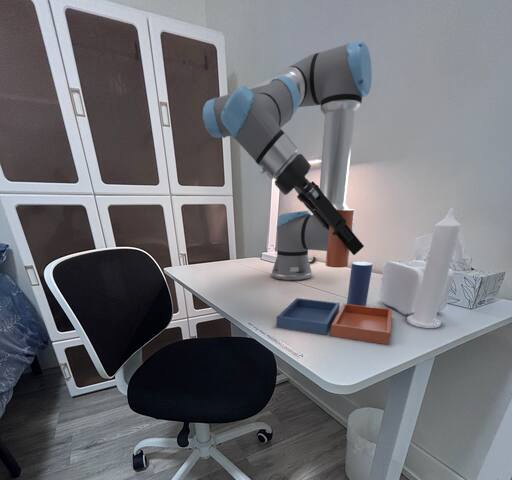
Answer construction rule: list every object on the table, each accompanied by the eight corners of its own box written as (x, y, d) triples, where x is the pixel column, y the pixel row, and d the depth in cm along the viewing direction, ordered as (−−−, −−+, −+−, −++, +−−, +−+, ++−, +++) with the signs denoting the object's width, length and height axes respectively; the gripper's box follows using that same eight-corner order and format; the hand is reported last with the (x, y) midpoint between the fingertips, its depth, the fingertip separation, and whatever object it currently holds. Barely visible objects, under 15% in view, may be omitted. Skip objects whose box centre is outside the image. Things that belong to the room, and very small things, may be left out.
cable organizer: (375, 300, 85) (382, 259, 80) (408, 297, 87) (416, 258, 82) (408, 318, 72) (419, 271, 67) (446, 315, 73) (459, 268, 68)
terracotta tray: (342, 312, 76) (343, 303, 75) (390, 318, 72) (392, 308, 70) (330, 335, 63) (331, 324, 62) (388, 344, 59) (390, 333, 58)
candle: (419, 315, 73) (445, 206, 62) (446, 324, 68) (481, 206, 57) (400, 320, 70) (424, 207, 60) (427, 330, 65) (460, 207, 54)
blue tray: (296, 307, 81) (296, 298, 79) (338, 312, 76) (339, 303, 75) (276, 327, 68) (276, 316, 67) (326, 335, 63) (327, 324, 62)
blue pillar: (347, 304, 82) (353, 261, 77) (366, 306, 80) (373, 262, 75) (345, 309, 78) (350, 264, 73) (364, 312, 76) (371, 265, 71)
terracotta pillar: (328, 262, 72) (333, 209, 66) (349, 264, 70) (355, 209, 64) (323, 266, 67) (328, 210, 62) (345, 268, 66) (352, 210, 60)
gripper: (270, 184, 69) (332, 254, 76) (275, 178, 53) (353, 268, 60) (293, 157, 67) (355, 232, 74) (306, 143, 51) (383, 241, 58)
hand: (354, 248), depth 67 cm, fingers closed on terracotta pillar, 5 cm apart
